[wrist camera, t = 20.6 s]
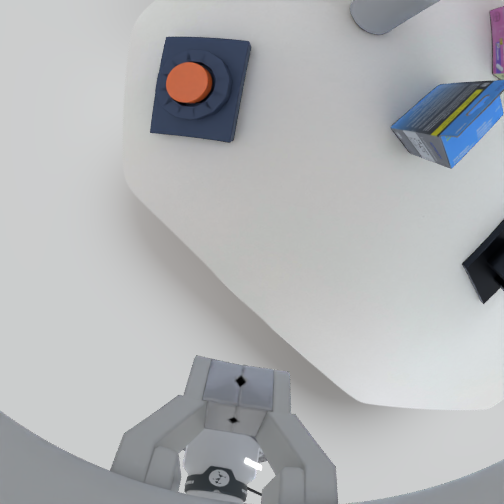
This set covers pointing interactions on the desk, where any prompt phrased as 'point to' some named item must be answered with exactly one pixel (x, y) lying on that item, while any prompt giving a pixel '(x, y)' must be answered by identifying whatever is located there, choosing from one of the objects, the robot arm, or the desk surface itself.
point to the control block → (219, 98)
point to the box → (498, 41)
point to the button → (189, 83)
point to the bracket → (488, 265)
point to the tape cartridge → (450, 120)
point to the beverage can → (386, 13)
